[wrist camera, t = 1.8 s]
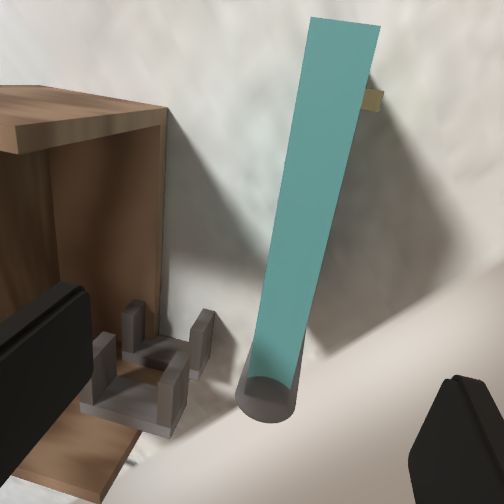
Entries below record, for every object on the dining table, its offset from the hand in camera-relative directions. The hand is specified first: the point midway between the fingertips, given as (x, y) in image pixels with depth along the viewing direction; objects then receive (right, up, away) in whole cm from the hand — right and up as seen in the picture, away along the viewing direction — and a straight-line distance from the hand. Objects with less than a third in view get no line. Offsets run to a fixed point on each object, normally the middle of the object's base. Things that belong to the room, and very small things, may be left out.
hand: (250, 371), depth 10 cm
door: (+4, +7, +15) cm, 17 cm away
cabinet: (-9, +4, +20) cm, 22 cm away
